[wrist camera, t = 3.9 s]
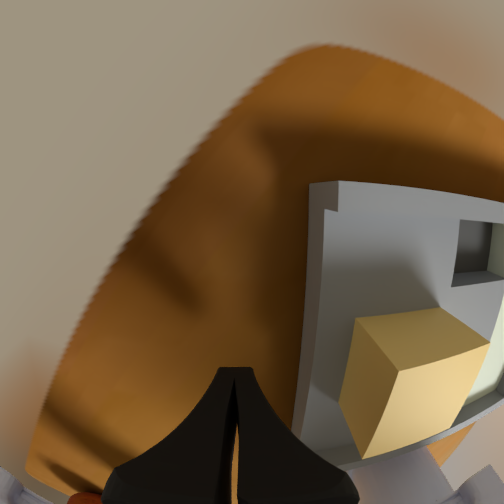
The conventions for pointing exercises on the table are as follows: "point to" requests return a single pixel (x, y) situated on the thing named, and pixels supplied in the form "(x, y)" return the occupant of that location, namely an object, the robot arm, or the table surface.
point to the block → (407, 377)
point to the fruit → (85, 498)
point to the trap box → (393, 294)
